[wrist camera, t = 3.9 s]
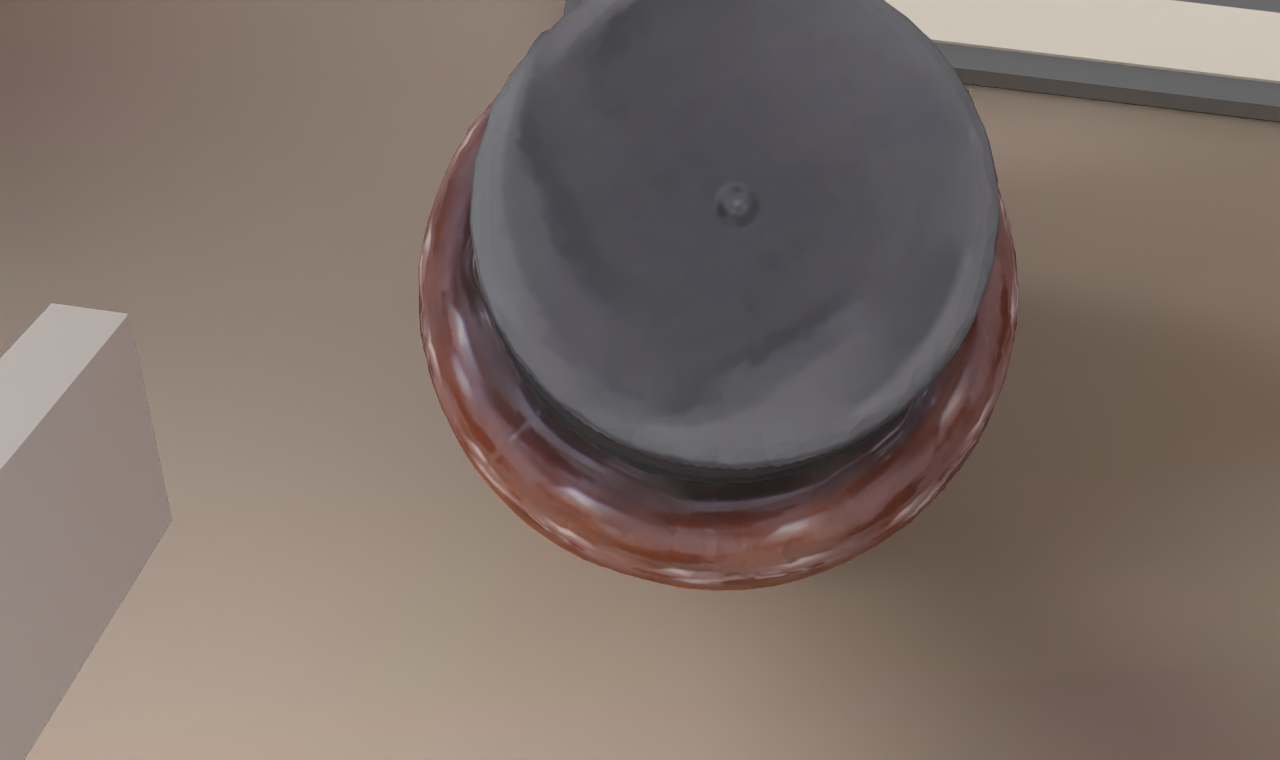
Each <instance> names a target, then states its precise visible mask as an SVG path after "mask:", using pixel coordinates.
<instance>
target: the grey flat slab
mask: <svg viewBox="0 0 1280 760" xmlns="http://www.w3.org/2000/svg"><path fill="white" fill-rule="evenodd" d="M584 1H586V0H566V3H565V10H564V16H565V15H566V14H568V13H569V12H570V11H572V10H573V9H574V8H576V7H577V6H578V5H580V4H581V3H583V2H584ZM884 1H886V2H887V3H888V4H890V5H891V6H893V7H894V8H895V9H897V10H898V11H899V12H901V13H902V14H904V15H905V16H906V17H908V18H909V19H910V20H911V21H912V22H913V23H914V24H915V25H916V26H917V27H918V28H919V29H920V30H921V31H922V32H923V33H924V34H925V35H927V36H928V37H929V38H930V39H931V40H932V41H933V42H934V44H935V45H936V46H937V48H938V49H939V50H940V52H941V53H942V54H943V55H944V57H945V58H946V59H947V60H948V62H949V63H950V64H951V66H952V67H953V68H954V70H955V71H956V72H957V74H958V75H959V77H960V79H961V81H962V83H965V84H973V85H981V86H990V87H998V88H1006V89H1014V90H1023V91H1031V92H1039V93H1047V94H1056V95H1064V96H1072V97H1080V98H1089V99H1097V100H1105V101H1113V102H1122V103H1130V104H1138V105H1147V106H1155V107H1163V108H1171V109H1180V110H1188V111H1196V112H1204V113H1213V114H1221V115H1229V116H1237V117H1246V118H1254V119H1262V120H1270V121H1279V122H1280V0H884ZM564 16H563V17H564Z"/></svg>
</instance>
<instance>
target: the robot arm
mask: <svg viewBox="0 0 1280 760" xmlns="http://www.w3.org/2000/svg"><path fill="white" fill-rule="evenodd" d="M171 521H172V517H171V513H170V508H169V503H168V498H167V493H166V489H165V484H164V479H163V474H162V469H161V465H160V460H159V455H158V450H157V446H156V441H155V436H154V431H153V426H152V422H151V417H150V412H149V407H148V402H147V398H146V393H145V388H144V383H143V378H142V374H141V369H140V364H139V359H138V354H137V350H136V345H135V340H134V335H133V330H132V326H131V321H130V316H129V314H127V313H120V312H113V311H106V310H98V309H91V308H84V307H77V306H69V305H62V304H55V303H51V304H50V305H49V306H48V307H47V309H46V310H45V311H44V312H43V313H42V314H41V315H40V316H39V317H38V318H37V319H36V320H35V321H34V322H33V324H32V325H31V326H30V327H29V328H28V329H27V330H26V331H25V332H24V333H23V334H22V335H21V336H20V338H19V339H18V340H17V341H16V342H15V343H14V344H13V345H12V346H11V347H10V348H9V349H8V350H7V351H6V353H5V354H4V355H3V356H2V357H1V358H0V760H25V758H26V757H27V755H28V753H29V752H30V750H31V748H32V747H33V745H34V744H35V742H36V740H37V739H38V737H39V735H40V734H41V732H42V731H43V729H44V727H45V726H46V724H47V722H48V721H49V719H50V718H51V716H52V714H53V713H54V711H55V709H56V708H57V706H58V705H59V703H60V701H61V700H62V698H63V696H64V695H65V693H66V692H67V690H68V688H69V687H70V685H71V683H72V682H73V680H74V679H75V677H76V675H77V674H78V672H79V670H80V669H81V667H82V666H83V664H84V662H85V661H86V659H87V657H88V656H89V654H90V653H91V651H92V649H93V648H94V646H95V644H96V643H97V641H98V640H99V638H100V636H101V635H102V633H103V632H104V630H105V628H106V627H107V625H108V623H109V622H110V620H111V619H112V617H113V615H114V614H115V612H116V610H117V609H118V607H119V606H120V604H121V602H122V601H123V599H124V597H125V596H126V594H127V593H128V591H129V589H130V588H131V586H132V584H133V583H134V581H135V580H136V578H137V576H138V575H139V573H140V571H141V570H142V568H143V567H144V565H145V563H146V562H147V560H148V558H149V557H150V555H151V554H152V552H153V550H154V549H155V547H156V545H157V544H158V542H159V541H160V539H161V537H162V536H163V534H164V532H165V531H166V529H167V528H168V526H169V524H170V523H171Z"/></svg>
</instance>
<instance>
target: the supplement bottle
mask: <svg viewBox="0 0 1280 760" xmlns="http://www.w3.org/2000/svg"><path fill="white" fill-rule="evenodd" d="M1017 310H1018V283H1017V266H1016V254H1015V250H1014V245H1013V238H1012V235H1011V228H1010V224H1009V221H1008V219H1007V216H1006V212H1005V208H1004V205H1003V202H1002V199H1001V195H1000V191H999V188H998V179H997V175H996V170H995V166H994V161H993V157H992V152H991V148H990V143H989V140H988V137H987V134H986V131H985V128H984V125H983V123H982V121H981V119H980V117H979V115H978V113H977V111H976V108H975V106H974V103H973V101H972V98H971V96H970V93H969V92H968V90H967V89H966V87H965V86H964V85H963V83H962V81H961V79H960V77H959V75H958V74H957V72H956V71H955V70H954V68H953V67H952V66H951V64H950V63H949V62H948V60H947V59H946V58H945V57H944V55H943V54H942V53H941V52H940V50H939V49H938V48H937V46H936V45H935V44H934V42H933V41H932V40H931V39H930V38H929V37H928V36H927V35H925V34H924V33H923V32H922V31H921V30H920V29H919V28H918V27H917V26H916V25H915V24H914V23H913V22H912V21H911V20H910V19H909V18H908V17H906V16H905V15H904V14H902V13H901V12H899V11H898V10H897V9H895V8H894V7H893V6H891V5H890V4H888V3H887V2H886V1H884V0H586V1H584V2H583V3H581V4H580V5H578V6H577V7H576V8H574V9H573V10H572V11H570V12H569V13H568V14H566V15H565V16H564V17H562V18H561V19H560V20H559V21H558V22H557V23H556V24H555V25H554V26H553V27H552V28H551V29H550V30H547V31H545V32H542V33H541V34H540V36H539V37H538V38H537V39H536V40H535V41H534V43H533V45H532V46H531V48H530V50H529V52H528V53H527V55H526V56H525V58H524V59H523V60H522V61H521V62H520V63H519V65H518V66H517V67H516V68H515V69H514V71H513V72H512V73H511V74H510V76H509V78H508V79H507V81H506V83H505V85H504V87H503V88H502V90H501V92H500V93H499V94H498V96H497V97H496V98H495V100H494V101H493V102H492V103H491V104H490V105H489V107H488V108H487V109H486V111H485V112H484V114H483V115H481V116H480V117H479V118H478V119H476V121H475V122H474V123H473V124H472V125H471V127H470V128H469V130H468V132H467V134H466V136H465V138H464V139H463V141H462V143H461V144H460V146H459V148H458V149H457V151H456V152H455V154H454V156H453V158H452V160H451V162H450V164H449V167H448V169H447V171H446V173H445V176H444V178H443V181H442V183H441V186H440V188H439V191H438V193H437V196H436V199H435V202H434V205H433V208H432V211H431V214H430V216H429V219H428V223H427V228H426V232H425V236H424V240H423V245H422V253H421V259H420V265H419V318H420V331H421V337H422V341H423V349H424V352H425V355H426V358H427V361H428V367H429V373H430V376H431V380H432V383H433V386H434V388H435V391H436V394H437V396H438V399H439V402H440V404H441V407H442V409H443V411H444V413H445V415H446V417H447V419H448V422H449V424H450V426H451V428H452V430H453V432H454V434H455V436H456V438H457V439H458V441H459V443H460V445H461V447H462V449H463V450H464V452H465V454H466V455H467V457H468V458H469V460H470V461H471V463H472V464H473V466H474V468H475V469H476V470H477V471H478V472H479V474H480V475H481V476H482V477H483V478H484V480H485V481H486V482H487V483H488V485H489V486H490V487H491V488H492V489H493V491H494V492H495V493H496V494H497V495H498V496H499V497H500V498H501V499H502V500H503V501H504V502H505V503H506V504H507V505H508V506H509V507H510V508H511V509H512V510H513V511H514V512H515V513H516V514H517V515H518V516H519V517H520V518H521V519H522V520H523V521H524V522H526V523H527V524H528V525H529V526H530V527H532V528H533V529H535V530H536V531H538V532H539V533H541V534H542V535H544V536H545V537H546V538H548V539H549V540H551V541H552V542H554V543H555V544H557V545H558V546H559V547H561V548H563V549H565V550H567V551H569V552H571V553H572V554H574V555H576V556H578V557H580V558H582V559H584V560H586V561H589V562H591V563H594V564H596V565H599V566H602V567H606V568H609V569H612V570H614V571H617V572H620V573H623V574H627V575H630V576H634V577H638V578H641V579H645V580H649V581H653V582H658V583H662V584H667V585H672V586H675V587H678V588H688V589H701V590H714V591H717V590H745V589H754V588H762V587H771V586H776V585H780V584H784V583H788V582H792V581H796V580H800V579H803V578H805V577H808V576H811V575H814V574H817V573H820V572H823V571H826V570H828V569H831V568H833V567H835V566H837V565H840V564H842V563H844V562H846V561H849V560H851V559H853V558H854V557H856V556H858V555H860V554H862V553H864V552H865V551H867V550H869V549H871V548H873V547H874V546H876V545H877V544H879V543H880V542H882V541H883V540H885V539H886V538H888V537H889V536H891V535H892V534H894V533H895V532H897V531H898V530H900V529H901V528H903V527H904V526H905V525H907V524H908V523H910V522H911V521H912V520H913V519H914V518H915V517H916V516H917V515H918V514H919V513H920V512H921V511H922V510H923V509H924V508H925V507H926V506H927V505H929V504H930V503H931V502H932V500H933V499H934V498H935V497H936V496H937V495H938V494H939V493H940V492H941V491H942V490H944V488H945V486H946V485H947V483H948V482H949V481H950V480H951V479H952V477H953V476H954V475H955V474H956V473H957V472H958V471H959V470H960V468H961V467H962V465H963V464H964V462H965V461H966V459H967V458H968V456H969V455H970V453H971V452H972V450H973V449H974V447H975V446H976V444H977V443H978V441H979V439H980V436H981V434H982V432H983V430H984V429H985V427H986V425H987V423H988V420H989V418H990V415H991V413H992V411H993V408H994V406H995V403H996V401H997V398H998V396H999V394H1000V391H1001V389H1002V386H1003V383H1004V380H1005V377H1006V373H1007V369H1008V365H1009V360H1010V355H1011V350H1012V346H1013V342H1014V335H1015V330H1016V324H1017Z"/></svg>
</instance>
